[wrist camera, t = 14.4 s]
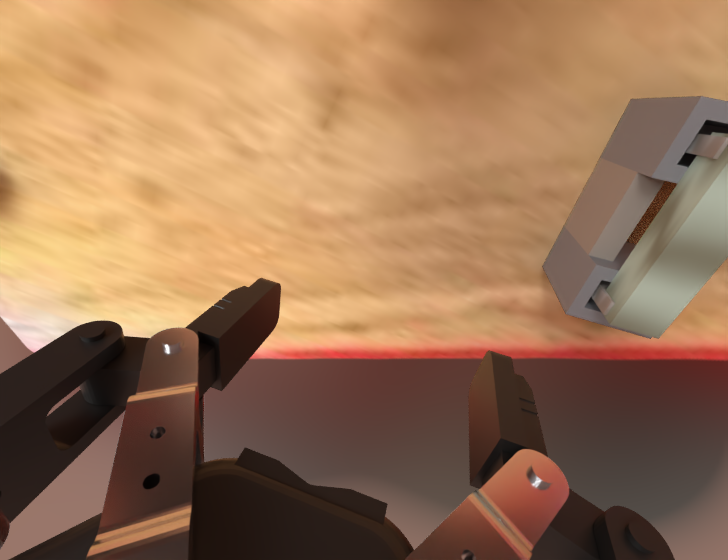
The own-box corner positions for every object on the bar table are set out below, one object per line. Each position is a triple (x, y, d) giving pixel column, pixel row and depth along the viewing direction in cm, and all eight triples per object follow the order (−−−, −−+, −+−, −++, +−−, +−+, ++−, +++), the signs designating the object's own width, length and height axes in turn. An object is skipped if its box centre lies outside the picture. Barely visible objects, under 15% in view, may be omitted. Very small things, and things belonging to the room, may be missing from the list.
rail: (681, 128, 23) (742, 134, 18) (743, 141, 23) (823, 151, 18) (582, 286, 30) (606, 323, 25) (627, 299, 30) (661, 339, 25)
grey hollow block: (631, 98, 29) (701, 96, 20) (718, 116, 28) (830, 121, 19) (542, 266, 37) (565, 314, 29) (606, 284, 36) (650, 338, 28)
